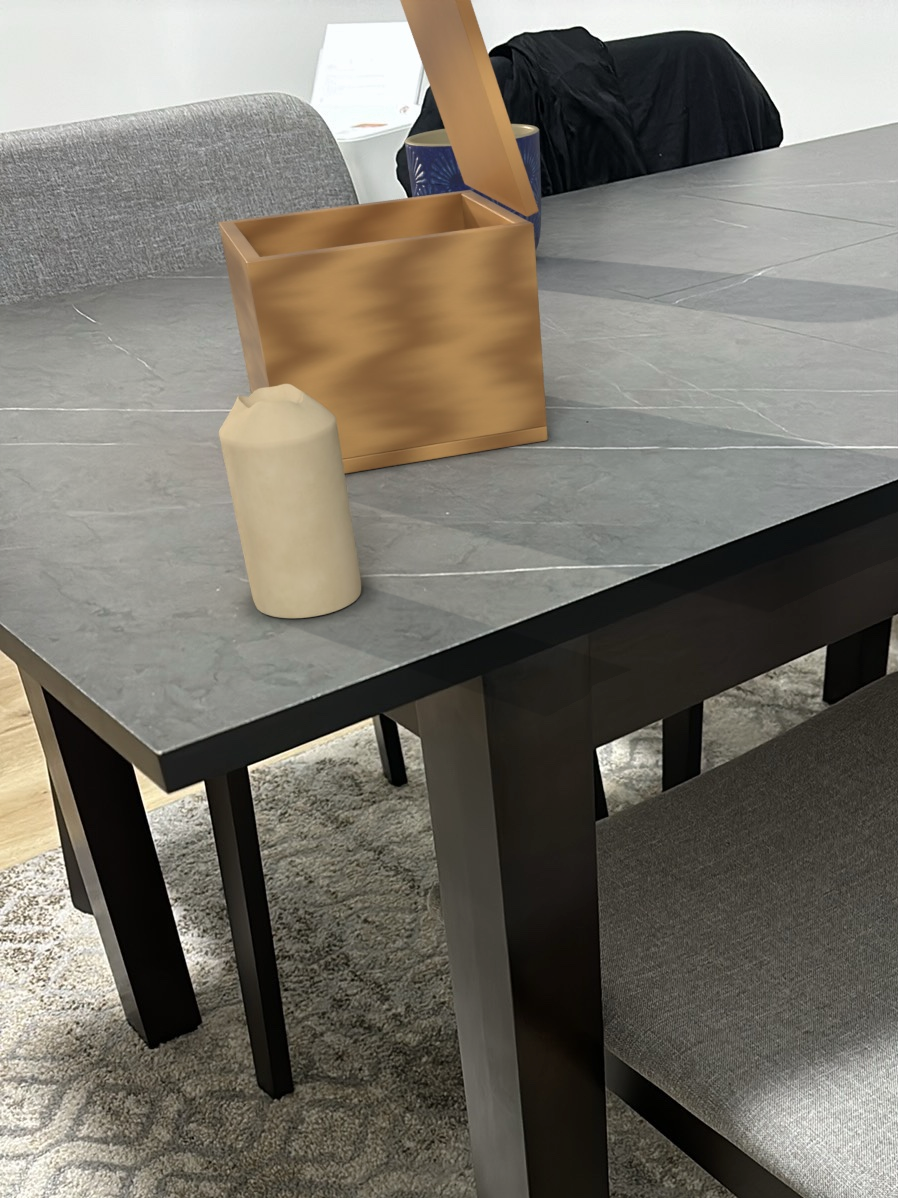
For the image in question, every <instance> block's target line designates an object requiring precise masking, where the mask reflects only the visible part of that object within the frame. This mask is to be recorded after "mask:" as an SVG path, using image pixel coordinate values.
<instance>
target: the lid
mask: <svg viewBox="0 0 898 1198" xmlns="http://www.w3.org/2000/svg"><path fill="white" fill-rule="evenodd" d="M399 2H400V3H401V4H400V5H401V7H402V10H403V12H404V16H405V18H406V21H407V25H408V26H409V29H410V33H411V36H412V38H413V41H414V44H415V47H416V50H417V52H418V55H419V59H420V61H421V64H422V67H423V69H424V72H425V75H426V78H427V81H428V84H429V86H430V89H431V93H432V95H433V98H434V101H435V104H436V107H437V110H438V113H439V116H440V118H441V120H442V123H443V124H442V125H443V126H444V129H446V132H447V135H448V138H449V141H450V144H451V146H452V149H453V152H454V155H455V158H456V161H457V163H458V166H459V169H460V172H461V175H462V178H463V180H464V183H465V184H466V185H467V186H469V187H471V188H473V189H475V190H477V191H479V192H481V193H483V194H485V195H486V196H488V197H490V198H492V199H494V200H496V201H498V202H500V203H502V204H504V205H505V206H507V207H509V208H511V209H513V210H515V211H517V212H519V213H521V214H522V215H524V216H526V217H529V216H531V215H533V214H535V213H537V212H538V211H539V210H538V207H537V204H536V201H535V198H534V194H533V191H532V188H531V185H530V182H529V179H528V176H527V173H526V170H525V167H524V163H523V160H522V157H521V154H520V151H519V148H518V145H517V142H516V139H515V136H514V133H513V129H512V126H511V124H512V123H511V121H510V117H509V114H508V111H507V108H506V105H505V102H504V99H503V97H502V92H501V89H500V87H499V83H498V80H497V77H496V74H495V70H494V68H493V64H492V61H491V59H490V56H489V53H488V49H487V46H486V43H485V39H484V37H483V34H482V30H481V27H480V24H479V21H478V18H477V15H476V12H475V10H474V6H473V3H472V0H399Z"/></svg>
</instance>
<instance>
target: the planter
mask: <svg viewBox="0 0 898 1198" xmlns="http://www.w3.org/2000/svg"><path fill="white" fill-rule="evenodd" d="M511 126H512V129H513V133H514V136H515V139H516V142H517V145H518V148H519V151H520V154H521V157H522V160H523V163H524V167H525V170H526V173H527V176H528V179H529V182H530V185H531V188H532V191H533V194H534V198H535V201H536V204H537V207H538V210H539V211H538V212H537V213H535V214H533V215H531V216H529V217H526V216H524V215H522V214H521V213H519V212H517V211H515V210H513V209H511V208H509V207H507V206H505V205H504V204H502V203H500V202H498V201H496V200H494V199H492V198H490V197H488V196H486V195H485V194H483V193H481V192H479V191H477V190H475V189H473V188H471V187H469V186H467V185H466V184H465V183H464V180H463V178H462V175H461V172H460V169H459V166H458V163H457V161H456V158H455V155H454V152H453V149H452V146H451V144H450V141H449V138H448V135H447V132H446V129H445V128H440V129H434V130H430V131H429V130H428V131H425V132H420V133H417V134H414V135H411V136H408V137H407V138H405V140H404V146H405V153H406V161H407V168H408V173H409V175H408V176H409V182H410V187H411V196H412V197H419V196H427V195H435V194H442V193H450V192H458V191H466V190H472V191H473V192H475V193H477V194H478V195H480V196H482V197H484V198H486V199H488V200H490V201H491V202H493V203H495V204H497V205H499V206H501V207H503V208H505V209H506V210H508V211H510V212H512V213H514V214H516V215H518V216H520V217H521V218H523V219H525V220H527V221H529V222H531V223H533V224H534V239H535V252H536V251H537V248H538V247H539V243H540V239H541V230H542V229H541V228H542V178H541V174H542V173H541V150H540V149H541V148H540V147H541V146H540V129H539V128H538V127H537V126H535V125H530V124H524V123H522V124H521V123H511Z"/></svg>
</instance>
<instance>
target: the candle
mask: <svg viewBox="0 0 898 1198" xmlns="http://www.w3.org/2000/svg"><path fill="white" fill-rule="evenodd" d="M230 409H231V410H230V411H229V413H228V414H227V417H226V418H225V420H224V422H223V423H222V424H221V427H220V428H219V430H218V437H219V442H220V446H221V451H222V457H223V461H224V465H225V472H226V476H227V481H228V485H229V490H230V495H231V501H232V505H233V510H234V515H235V519H236V524H237V529H238V535H239V539H240V543H241V549H242V554H243V559H244V564H245V569H246V573H247V579H248V583H249V587H250V592H251V597H252V600H253V603H254V605H255V608H256V609H257V610H258V611H259V612H261V613H263V614H264V615H267V616H270V617H273V618H280V619H281V618H282V619H304V618H305V619H306V618H312V617H319V616H323V615H327V614H331V613H333V612H337V611H339V610H342V609H344V608H346V607H348V606H350V605H352V604H353V603H354V602H355V601H357V600H358V599H359V597H360V595H361V593H362V579H361V573H360V564H359V559H358V551H357V545H356V539H355V532H354V526H353V520H352V514H351V507H350V500H349V494H348V487H347V481H346V474H344V467H343V461H342V454H341V448H340V441H339V435H338V428H337V422H336V417H335V416H334V415H333V414H332V413H331V412H330V411H329V410H328V409H326V408H325V407H324V406H323V405H321V404H320V403H319V402H317V401H316V400H314V399H313V398H311V397H310V396H308V395H307V394H305V393H304V392H303V391H301V390H299V389H297V388H296V387H294V386H293V385H290V384H282V385H279V386H274V387H265V388H259V389H257V390H255V391H254V392H253V393H252V394H251V393H250V395H247V396H243V395H238V396H237V397H236V400H235V401H234V404H233V406H232V408H230Z"/></svg>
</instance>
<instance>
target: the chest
mask: <svg viewBox="0 0 898 1198" xmlns="http://www.w3.org/2000/svg"><path fill="white" fill-rule="evenodd" d="M218 228H219V232H220V233H219V234H220V238H221V243H222V248H223V255H224V259H225V265H226V269H227V270H226V271H227V275H228V281H229V286H230V290H231V295H232V296H231V297H232V301H233V307H234V313H235V317H236V322H237V327H238V332H239V333H238V334H239V338H240V344H241V348H242V349H241V350H242V354H243V360H244V364H245V365H244V366H245V369H246V374H247V375H246V376H247V380H248V381H247V382H248V387H249V391H250V395H251V394H252V393H253V392H254V391H255V390H257V389H259V388H265V387H274V386H279V385H282V384H290V385H293V386H294V387H296V388H297V389H299V390H301V391H303V392H304V393H305V394H307V395H308V396H310V397H311V398H313V399H314V400H316V401H317V402H319V403H320V404H321V405H323V406H324V407H325V408H326V409H328V410H329V411H330V412H331V413H332V414H333V415H334V416H335V417H336V422H337V428H338V435H339V441H340V448H341V454H342V461H343V467H344V474H345V475H346V474H352V473H358V472H365V471H371V470H377V469H383V468H388V467H394V466H400V465H407V464H413V463H419V462H426V461H430V460H437V459H443V458H449V457H455V456H462V455H467V454H474V453H478V452H479V453H480V452H486V451H492V450H498V449H504V448H509V447H515V446H521V445H528V444H533V443H540V442H546V441H548V423H547V422H548V421H547V407H546V405H547V404H546V391H545V376H544V362H543V347H542V345H543V344H542V332H541V331H542V330H541V318H540V317H541V316H540V315H541V313H540V301H539V286H538V285H539V284H538V271H537V257H536V251H535V239H534V224H533V223H531V222H529V221H527V220H525V219H523V218H521V217H520V216H518V215H516V214H514V213H512V212H510V211H508V210H506V209H505V208H503V207H501V206H499V205H497V204H495V203H493V202H491V201H490V200H488V199H486V198H484V197H482V196H480V195H478V194H477V193H475V192H473V191H472V190H466V191H458V192H450V193H442V194H435V195H427V196H419V197H413V196H412V197H404V198H403V197H402V198H395V199H388V200H381V201H372V202H365V203H358V204H349V205H341V206H335V207H334V206H333V207H326V208H317V209H311V210H303V211H295V212H288V213H280V214H272V215H263V216H255V217H249V218H240V219H234V220H233V219H232V220H225V221H219V222H218Z"/></svg>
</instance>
